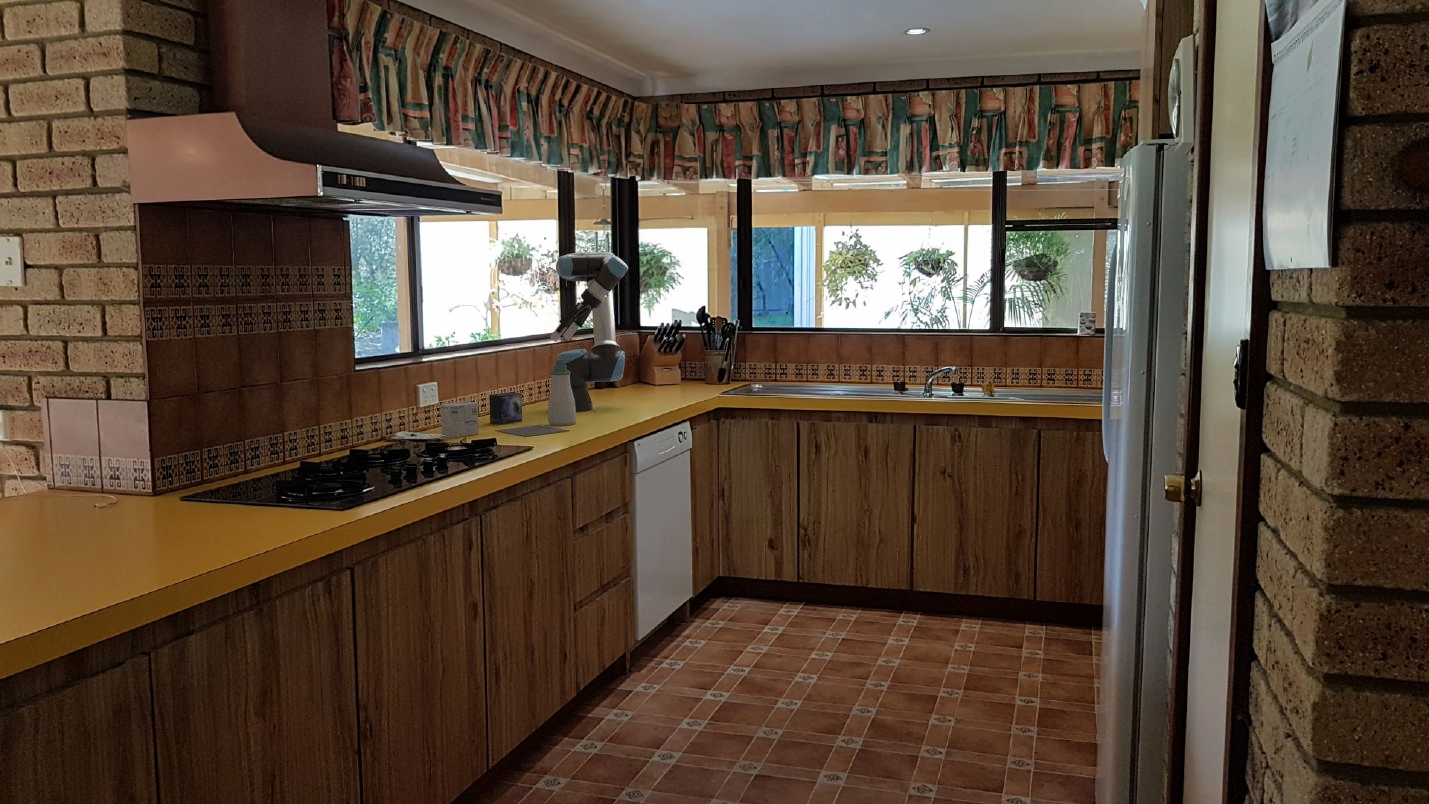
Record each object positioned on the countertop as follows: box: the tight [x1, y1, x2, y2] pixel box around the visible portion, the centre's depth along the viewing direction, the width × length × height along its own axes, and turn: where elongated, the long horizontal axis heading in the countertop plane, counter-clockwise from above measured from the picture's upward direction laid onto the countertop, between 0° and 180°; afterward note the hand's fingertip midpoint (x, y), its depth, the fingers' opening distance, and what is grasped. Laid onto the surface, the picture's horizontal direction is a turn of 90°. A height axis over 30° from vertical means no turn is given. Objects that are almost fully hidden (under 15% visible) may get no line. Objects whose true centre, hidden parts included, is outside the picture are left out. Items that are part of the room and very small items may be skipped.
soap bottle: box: [547, 359, 577, 427], centre depth 378 cm, size 10×10×23 cm
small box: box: [488, 391, 523, 425], centre depth 386 cm, size 11×6×10 cm, turn 143°
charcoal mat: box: [494, 424, 570, 438], centre depth 363 cm, size 17×20×1 cm
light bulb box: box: [439, 401, 480, 439], centre depth 356 cm, size 11×7×11 cm, turn 134°
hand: (559, 338), depth 392 cm, fingers open, 13 cm apart
